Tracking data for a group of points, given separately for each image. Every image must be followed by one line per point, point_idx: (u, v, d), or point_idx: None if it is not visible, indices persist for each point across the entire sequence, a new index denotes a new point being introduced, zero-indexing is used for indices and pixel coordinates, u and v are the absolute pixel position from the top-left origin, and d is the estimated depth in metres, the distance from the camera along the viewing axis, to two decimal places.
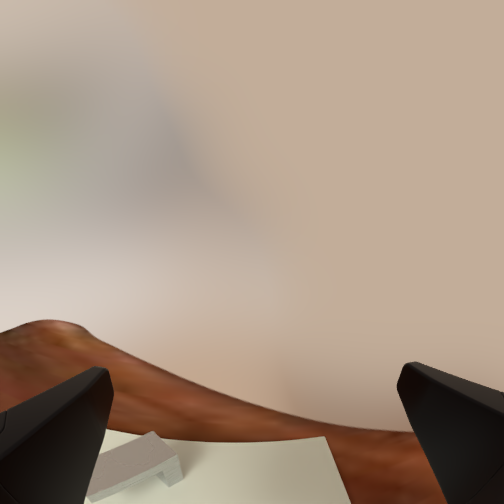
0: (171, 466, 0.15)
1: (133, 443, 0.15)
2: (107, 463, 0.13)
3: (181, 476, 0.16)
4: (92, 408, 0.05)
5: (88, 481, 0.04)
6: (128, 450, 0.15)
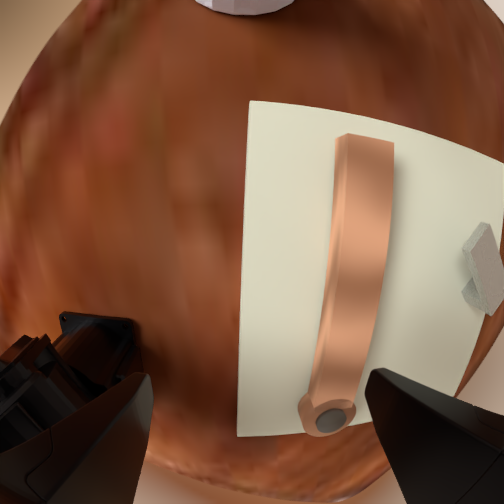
0: (482, 306, 0.18)
1: (503, 278, 0.16)
2: (493, 261, 0.15)
3: None
4: (138, 417, 0.05)
5: (134, 492, 0.04)
6: (499, 276, 0.16)
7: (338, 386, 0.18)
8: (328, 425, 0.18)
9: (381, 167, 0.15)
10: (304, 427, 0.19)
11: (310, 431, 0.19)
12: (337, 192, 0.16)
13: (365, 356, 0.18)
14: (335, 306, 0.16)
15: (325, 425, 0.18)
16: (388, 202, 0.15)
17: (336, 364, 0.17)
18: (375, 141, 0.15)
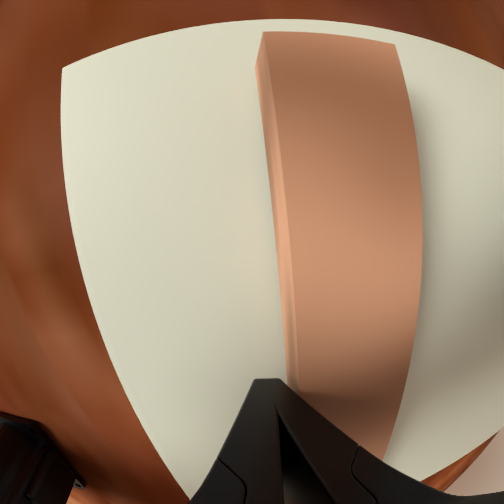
0: None
1: None
2: None
3: None
4: None
5: None
6: None
7: None
8: None
9: (378, 102, 0.05)
10: None
11: None
12: (274, 189, 0.06)
13: None
14: None
15: None
16: (412, 194, 0.05)
17: None
18: (346, 42, 0.05)
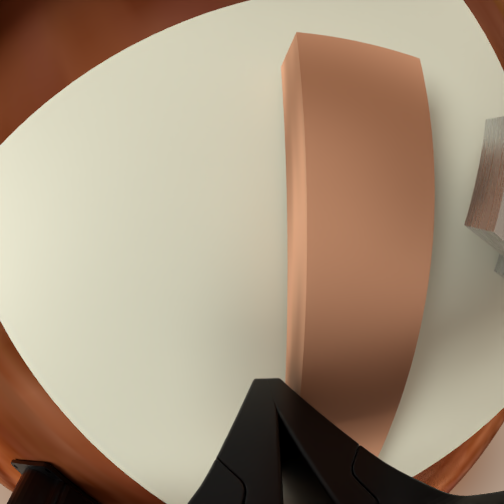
0: None
1: None
2: None
3: None
4: None
5: None
6: None
7: None
8: None
9: (401, 113, 0.05)
10: None
11: None
12: (292, 188, 0.06)
13: None
14: None
15: None
16: (426, 204, 0.06)
17: None
18: (375, 51, 0.05)
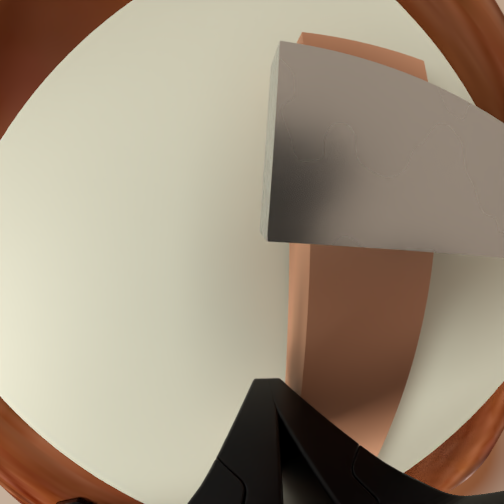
0: None
1: None
2: (440, 140, 0.04)
3: None
4: None
5: None
6: (500, 151, 0.04)
7: None
8: None
9: None
10: None
11: None
12: None
13: None
14: None
15: None
16: None
17: None
18: (379, 53, 0.05)
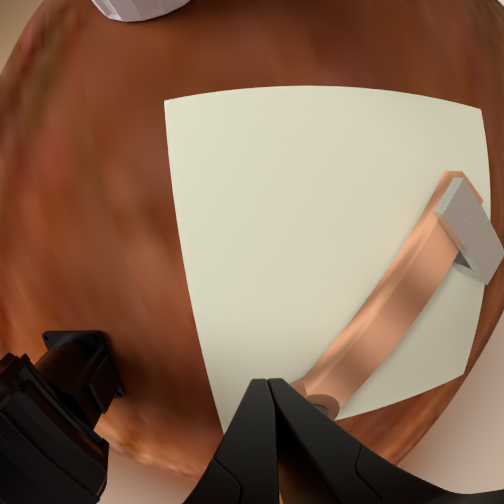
0: (474, 275, 0.16)
1: (495, 239, 0.14)
2: (477, 221, 0.14)
3: None
4: None
5: None
6: (489, 237, 0.14)
7: (341, 383, 0.17)
8: None
9: None
10: None
11: None
12: (430, 209, 0.16)
13: (379, 364, 0.17)
14: (388, 300, 0.16)
15: None
16: None
17: (355, 359, 0.17)
18: (474, 190, 0.15)
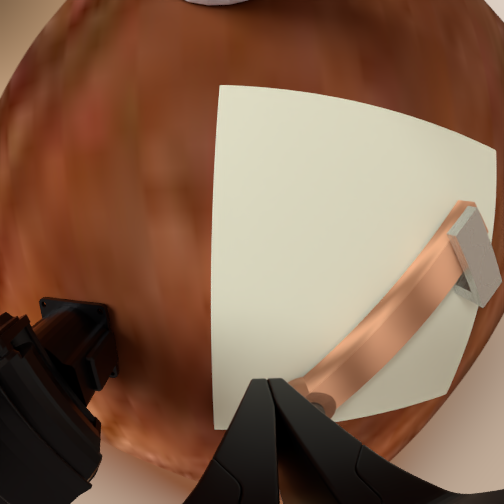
0: (472, 298, 0.17)
1: (495, 267, 0.16)
2: (482, 248, 0.15)
3: (459, 294, 0.19)
4: None
5: None
6: (491, 264, 0.15)
7: (342, 383, 0.18)
8: None
9: None
10: None
11: None
12: (442, 232, 0.17)
13: (378, 369, 0.18)
14: (397, 308, 0.17)
15: None
16: None
17: (359, 361, 0.18)
18: None
